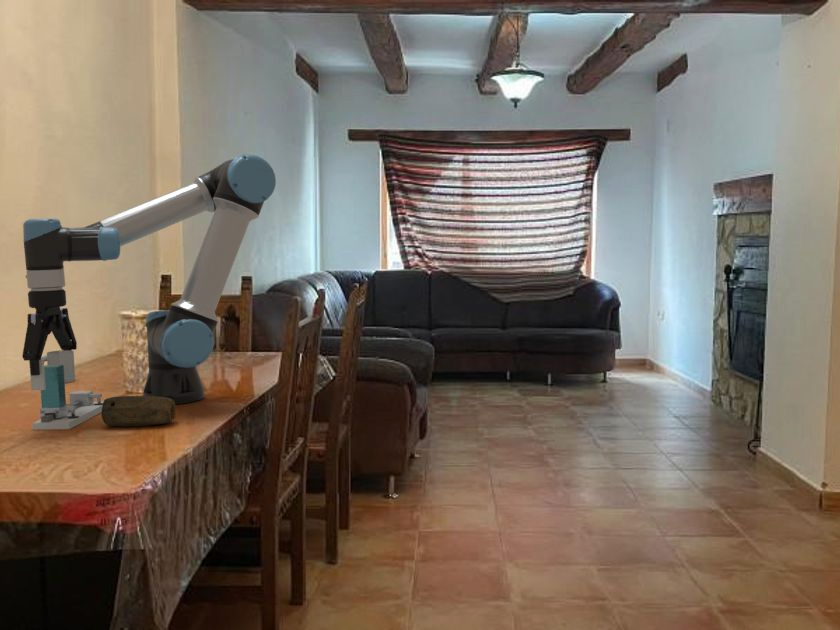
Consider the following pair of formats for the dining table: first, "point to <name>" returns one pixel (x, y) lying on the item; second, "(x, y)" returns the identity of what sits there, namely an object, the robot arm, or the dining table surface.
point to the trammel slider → (55, 393)
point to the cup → (57, 361)
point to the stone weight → (138, 410)
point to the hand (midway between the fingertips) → (53, 384)
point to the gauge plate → (82, 413)
